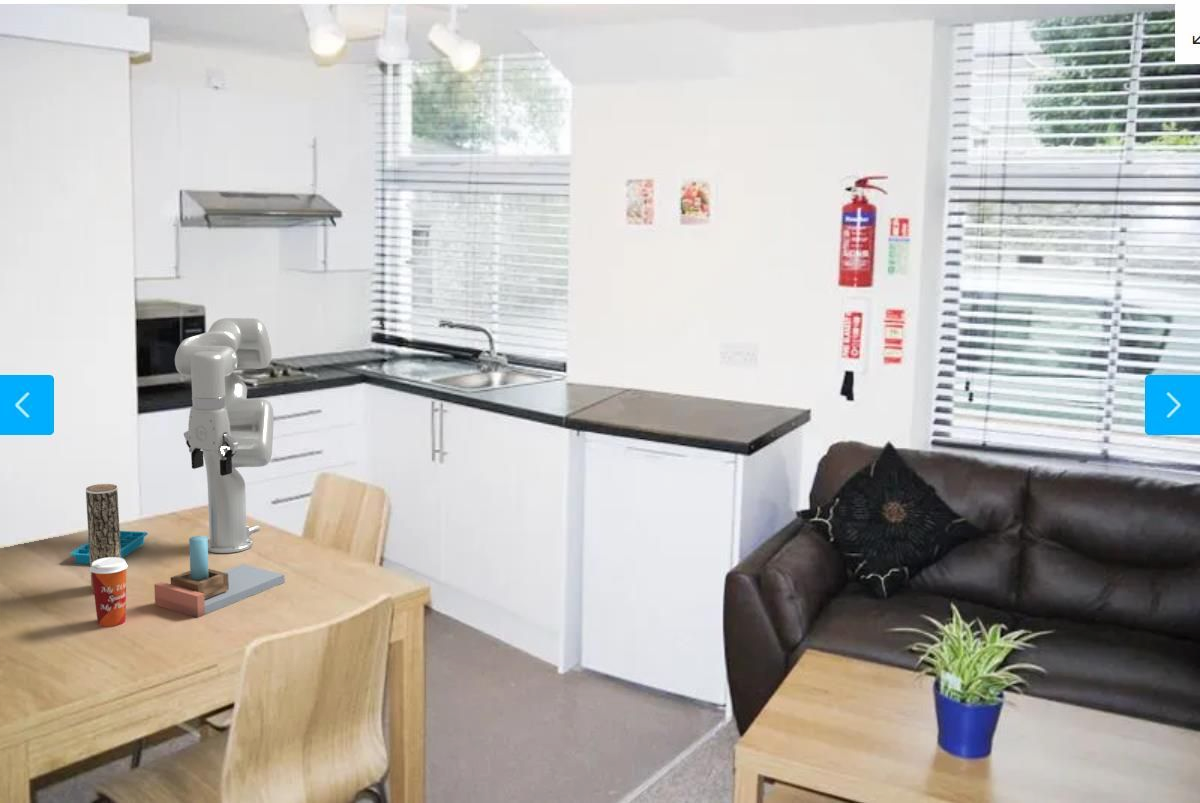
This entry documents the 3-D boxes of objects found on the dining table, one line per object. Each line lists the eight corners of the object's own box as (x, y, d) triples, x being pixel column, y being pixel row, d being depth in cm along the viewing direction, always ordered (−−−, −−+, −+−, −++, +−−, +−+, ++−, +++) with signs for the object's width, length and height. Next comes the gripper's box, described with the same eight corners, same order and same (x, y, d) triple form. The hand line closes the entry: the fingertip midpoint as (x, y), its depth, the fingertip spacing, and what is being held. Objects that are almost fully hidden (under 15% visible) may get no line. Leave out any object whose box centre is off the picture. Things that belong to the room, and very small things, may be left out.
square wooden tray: (201, 582, 265) (201, 566, 264) (228, 589, 260) (228, 573, 260) (171, 593, 257) (170, 577, 256) (198, 601, 253) (197, 585, 252)
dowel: (200, 583, 261) (199, 534, 259) (212, 586, 259) (211, 537, 257) (187, 588, 258) (185, 539, 255) (199, 591, 256) (197, 542, 254)
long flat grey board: (243, 571, 280) (242, 552, 279) (284, 582, 273) (284, 563, 272) (155, 604, 256) (154, 584, 255) (198, 617, 250) (197, 596, 249)
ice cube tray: (149, 542, 300) (149, 532, 300) (113, 567, 280) (112, 556, 280) (108, 540, 301) (107, 530, 300) (69, 565, 281) (68, 554, 280)
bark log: (127, 584, 268) (122, 484, 264) (112, 594, 262) (107, 492, 257) (101, 582, 269) (95, 483, 264) (85, 592, 262) (79, 490, 258)
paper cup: (106, 631, 240) (103, 570, 238) (85, 623, 244) (81, 563, 242) (138, 620, 247) (135, 560, 244) (117, 612, 251) (113, 553, 248)
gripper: (171, 400, 267) (174, 468, 271) (222, 410, 259) (225, 480, 263) (196, 395, 273) (199, 461, 277) (247, 405, 265) (249, 473, 269)
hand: (211, 470), depth 270 cm, fingers open, 9 cm apart
